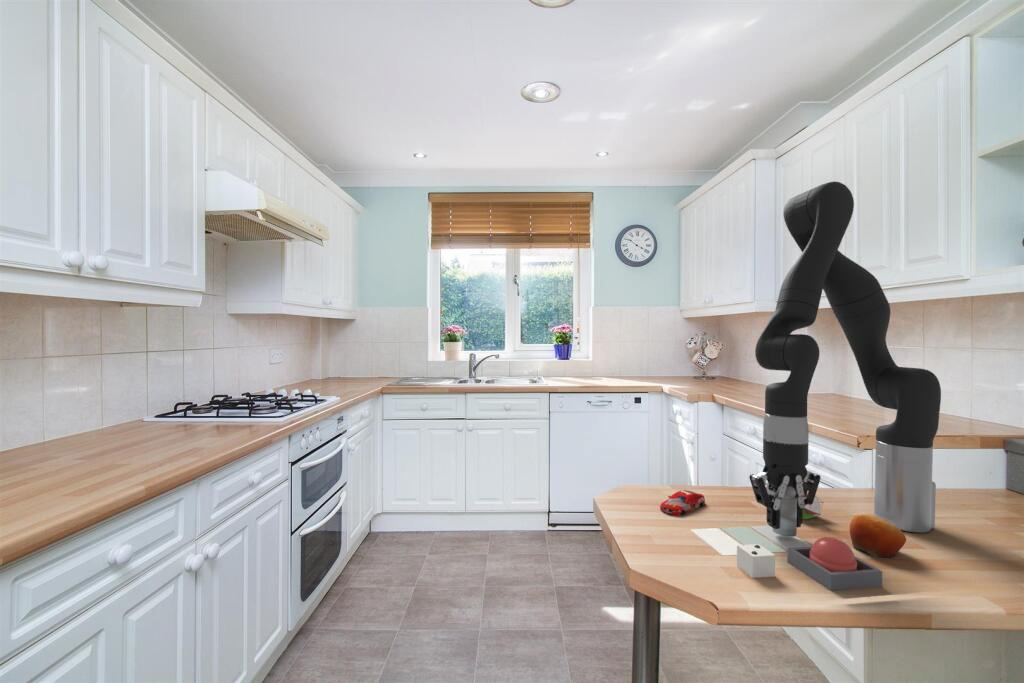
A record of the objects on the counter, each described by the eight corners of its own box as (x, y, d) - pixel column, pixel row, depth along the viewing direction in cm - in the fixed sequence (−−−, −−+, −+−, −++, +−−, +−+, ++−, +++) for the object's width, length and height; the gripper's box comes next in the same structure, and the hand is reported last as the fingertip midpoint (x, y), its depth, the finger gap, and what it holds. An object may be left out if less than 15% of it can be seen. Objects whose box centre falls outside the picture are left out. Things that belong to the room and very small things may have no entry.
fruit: (831, 541, 86) (847, 502, 87) (854, 557, 88) (869, 518, 90) (879, 561, 78) (895, 518, 80) (903, 577, 81) (918, 535, 82)
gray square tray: (833, 562, 81) (834, 545, 81) (882, 590, 72) (882, 571, 72) (787, 565, 79) (787, 548, 79) (830, 594, 71) (831, 575, 70)
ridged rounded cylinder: (786, 527, 91) (786, 478, 91) (801, 536, 87) (802, 485, 87) (767, 528, 91) (768, 479, 91) (782, 537, 87) (783, 486, 87)
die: (758, 567, 79) (758, 542, 79) (774, 579, 75) (775, 553, 75) (736, 568, 78) (737, 543, 78) (752, 581, 74) (752, 554, 74)
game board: (775, 526, 96) (775, 523, 96) (822, 553, 84) (822, 550, 84) (687, 531, 93) (687, 528, 93) (723, 560, 81) (723, 556, 81)
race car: (677, 522, 98) (677, 503, 98) (655, 514, 103) (655, 496, 103) (709, 508, 107) (709, 490, 106) (687, 501, 111) (688, 484, 111)
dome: (833, 564, 79) (834, 529, 79) (867, 584, 73) (868, 546, 73) (799, 566, 78) (800, 531, 78) (831, 587, 72) (832, 548, 72)
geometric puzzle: (770, 502, 104) (790, 480, 99) (792, 499, 106) (813, 477, 101) (793, 532, 98) (815, 510, 94) (816, 527, 101) (839, 506, 96)
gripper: (803, 432, 94) (802, 517, 94) (739, 434, 91) (738, 521, 92) (834, 441, 86) (833, 532, 86) (765, 443, 84) (764, 537, 84)
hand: (784, 526), depth 89 cm, fingers closed on ridged rounded cylinder, 4 cm apart
